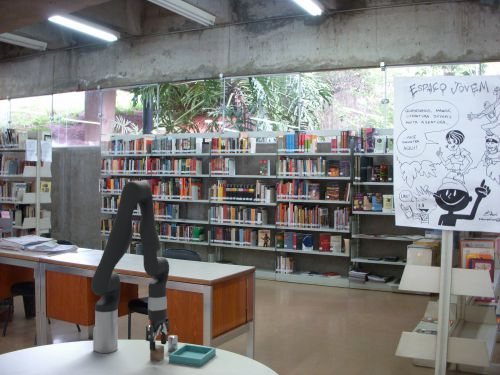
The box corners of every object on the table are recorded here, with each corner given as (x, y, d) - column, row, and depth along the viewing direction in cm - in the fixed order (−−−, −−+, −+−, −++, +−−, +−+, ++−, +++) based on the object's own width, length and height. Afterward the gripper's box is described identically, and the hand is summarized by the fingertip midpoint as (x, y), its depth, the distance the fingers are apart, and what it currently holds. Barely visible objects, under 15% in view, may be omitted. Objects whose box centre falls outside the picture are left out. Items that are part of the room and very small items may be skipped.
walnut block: (150, 359, 203) (150, 347, 203) (155, 356, 206) (155, 344, 206) (158, 361, 201) (158, 348, 201) (164, 358, 205) (164, 345, 205)
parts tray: (168, 361, 201) (168, 354, 201) (185, 350, 214) (185, 344, 214) (200, 366, 196) (200, 359, 196) (215, 354, 209) (215, 348, 209)
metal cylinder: (166, 351, 213) (166, 337, 212) (171, 348, 216) (171, 334, 216) (174, 352, 211) (174, 338, 211) (179, 349, 215) (179, 335, 215)
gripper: (158, 302, 211) (159, 341, 211) (139, 310, 198) (140, 352, 198) (174, 303, 209) (175, 342, 209) (156, 312, 195) (157, 353, 196)
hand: (158, 347), depth 204 cm, fingers open, 8 cm apart
